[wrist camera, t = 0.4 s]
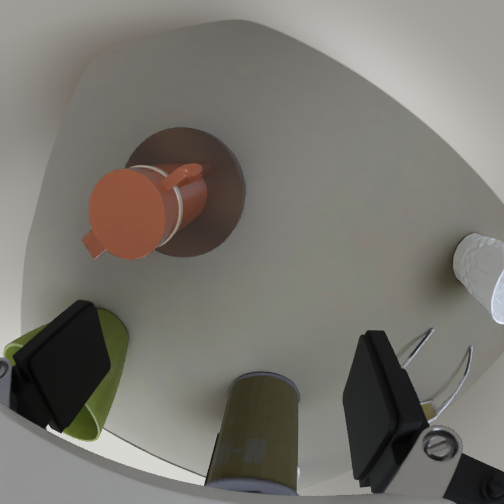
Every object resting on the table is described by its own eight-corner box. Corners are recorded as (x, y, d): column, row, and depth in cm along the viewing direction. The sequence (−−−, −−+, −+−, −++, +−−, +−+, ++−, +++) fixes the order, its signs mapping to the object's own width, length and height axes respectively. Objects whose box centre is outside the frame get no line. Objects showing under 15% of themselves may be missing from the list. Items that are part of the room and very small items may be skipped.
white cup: (463, 297, 31) (501, 337, 21) (438, 258, 30) (481, 294, 20) (499, 257, 28) (543, 286, 19) (477, 214, 27) (528, 237, 18)
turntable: (170, 105, 28) (165, 102, 26) (273, 180, 29) (272, 181, 28) (108, 205, 32) (102, 207, 31) (196, 276, 34) (193, 281, 32)
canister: (285, 363, 37) (278, 500, 18) (308, 409, 39) (309, 526, 20) (213, 380, 39) (174, 499, 20) (243, 422, 42) (222, 529, 23)
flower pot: (70, 342, 41) (15, 399, 26) (70, 268, 36) (-8, 320, 21) (144, 382, 41) (102, 456, 26) (158, 311, 36) (96, 394, 21)
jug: (200, 136, 27) (154, 127, 17) (238, 191, 29) (211, 211, 18) (127, 195, 30) (64, 216, 20) (161, 244, 31) (109, 285, 21)
